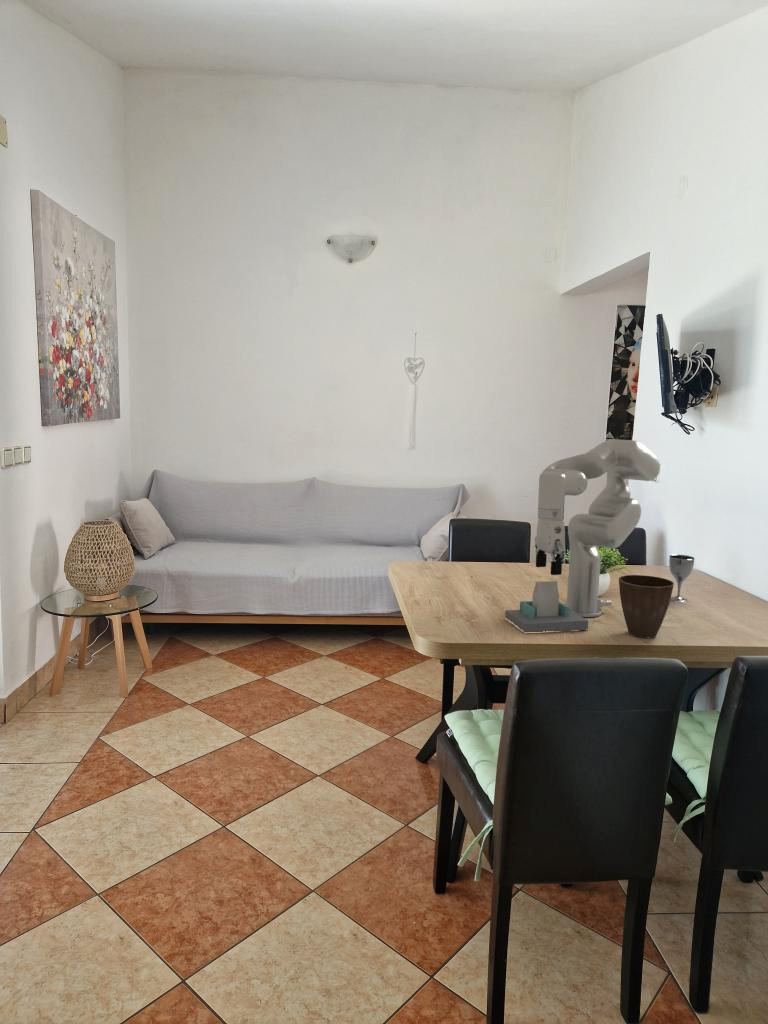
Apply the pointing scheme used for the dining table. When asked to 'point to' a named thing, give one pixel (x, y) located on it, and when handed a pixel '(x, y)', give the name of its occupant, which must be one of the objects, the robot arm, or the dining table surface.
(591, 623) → the dining table surface
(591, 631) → the dining table surface
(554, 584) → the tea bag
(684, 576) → the wine glass
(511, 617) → the dock
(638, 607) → the plant pot
